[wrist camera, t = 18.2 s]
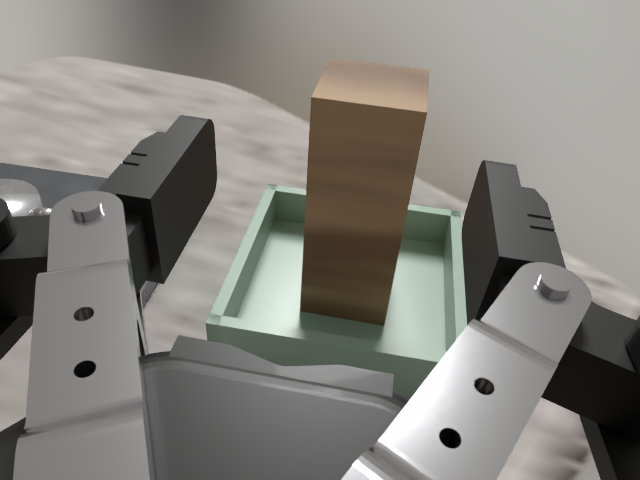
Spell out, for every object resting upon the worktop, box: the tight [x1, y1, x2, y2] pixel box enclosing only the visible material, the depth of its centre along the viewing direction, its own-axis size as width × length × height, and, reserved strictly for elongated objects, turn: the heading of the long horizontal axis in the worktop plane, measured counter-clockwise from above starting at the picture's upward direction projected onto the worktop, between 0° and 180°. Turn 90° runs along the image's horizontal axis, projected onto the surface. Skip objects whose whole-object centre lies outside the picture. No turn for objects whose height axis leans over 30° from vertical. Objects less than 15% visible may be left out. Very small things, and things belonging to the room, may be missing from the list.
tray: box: [206, 184, 467, 400], centre depth 29 cm, size 12×12×3 cm
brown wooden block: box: [300, 58, 429, 326], centre depth 26 cm, size 4×4×12 cm
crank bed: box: [0, 163, 158, 307], centre depth 31 cm, size 11×16×8 cm
